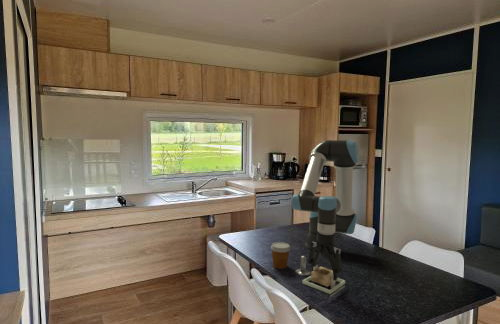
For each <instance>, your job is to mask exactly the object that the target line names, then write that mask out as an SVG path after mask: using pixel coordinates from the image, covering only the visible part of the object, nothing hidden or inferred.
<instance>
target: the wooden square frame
mask: <svg viewBox="0 0 500 324" xmlns="http://www.w3.org/2000/svg"><path fill="white" fill-rule="evenodd" d="M332 272H333V270H332V269H329V268H326V267H324V266H318V268H317V269H316V270H314V271H312V270H311V271H310V276H311V280H310V281H311V282H312V283H313V282H314V283H316V284H319V285H320V286H325V287H326V288H328V287H329V286H330V287H331V273H332ZM336 282H337V280H336V281H335V283H336Z"/></svg>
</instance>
